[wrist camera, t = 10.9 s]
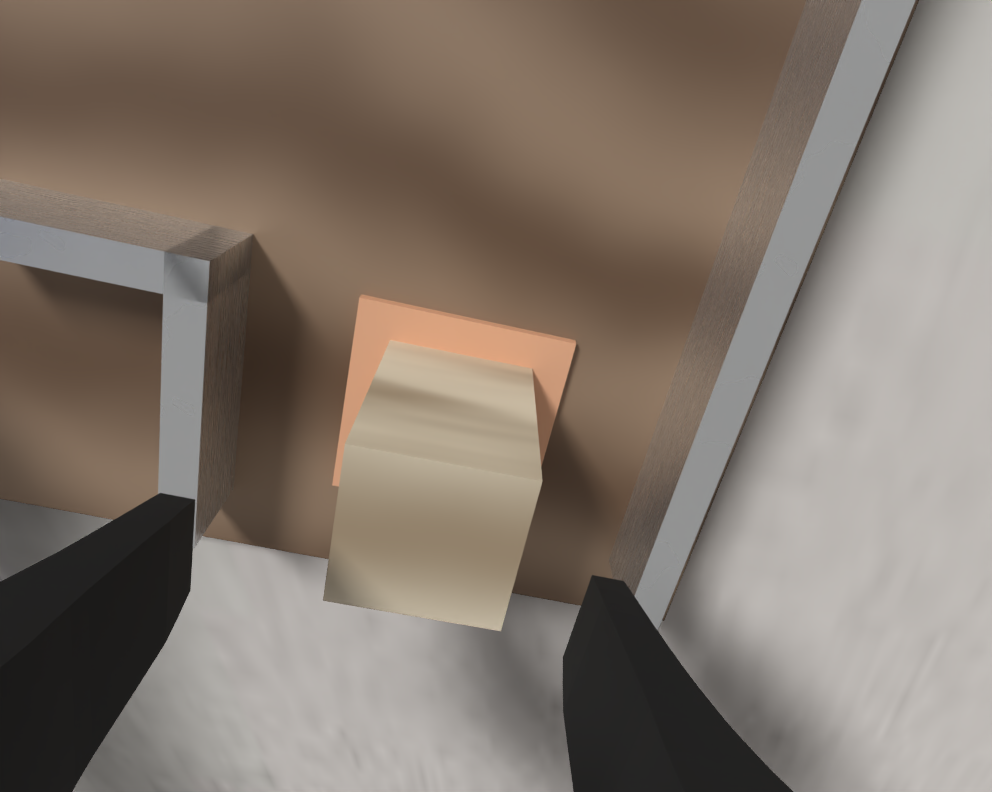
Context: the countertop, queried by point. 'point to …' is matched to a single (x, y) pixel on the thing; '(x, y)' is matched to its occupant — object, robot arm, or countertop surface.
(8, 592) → the robot arm
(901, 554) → the countertop surface
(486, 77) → the walnut board
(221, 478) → the channel walls
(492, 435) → the maple block
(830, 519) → the countertop surface
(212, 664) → the countertop surface
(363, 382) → the pad
